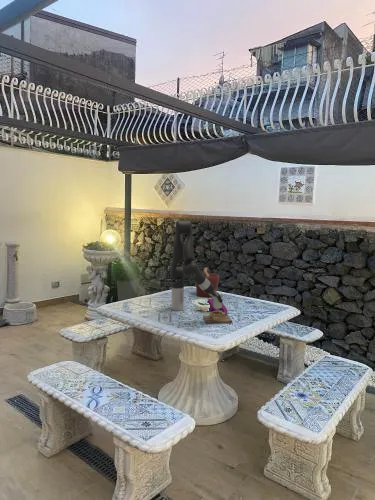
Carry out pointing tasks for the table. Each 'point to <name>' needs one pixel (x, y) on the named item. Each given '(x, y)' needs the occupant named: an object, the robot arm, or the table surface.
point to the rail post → (217, 302)
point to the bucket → (213, 280)
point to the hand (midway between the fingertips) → (220, 301)
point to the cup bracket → (217, 318)
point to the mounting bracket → (211, 309)
